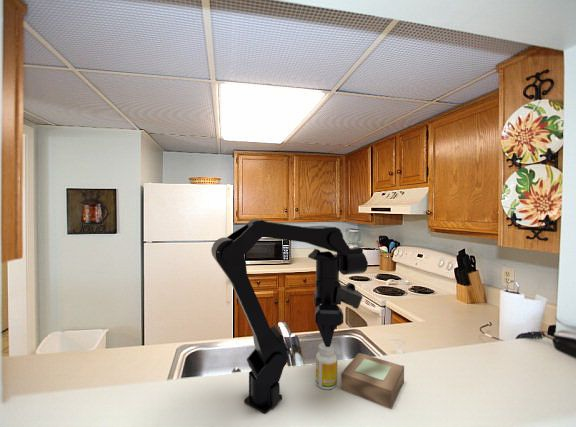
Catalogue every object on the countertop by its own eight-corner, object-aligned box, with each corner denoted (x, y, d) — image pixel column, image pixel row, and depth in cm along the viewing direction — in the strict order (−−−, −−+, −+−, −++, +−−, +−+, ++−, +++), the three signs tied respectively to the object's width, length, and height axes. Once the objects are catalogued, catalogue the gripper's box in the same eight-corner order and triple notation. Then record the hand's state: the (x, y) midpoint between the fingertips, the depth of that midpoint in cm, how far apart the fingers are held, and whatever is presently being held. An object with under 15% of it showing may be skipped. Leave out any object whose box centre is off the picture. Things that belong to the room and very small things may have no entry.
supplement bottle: (311, 383, 72) (311, 346, 72) (323, 374, 76) (324, 339, 76) (329, 393, 68) (329, 353, 68) (341, 383, 72) (341, 345, 72)
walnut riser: (341, 389, 70) (341, 372, 70) (358, 366, 80) (358, 352, 80) (391, 408, 63) (391, 390, 63) (403, 381, 73) (404, 365, 73)
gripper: (367, 287, 62) (366, 358, 62) (354, 269, 80) (353, 324, 81) (315, 285, 63) (314, 356, 63) (314, 268, 81) (314, 322, 82)
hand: (326, 337), depth 72 cm, fingers open, 9 cm apart
